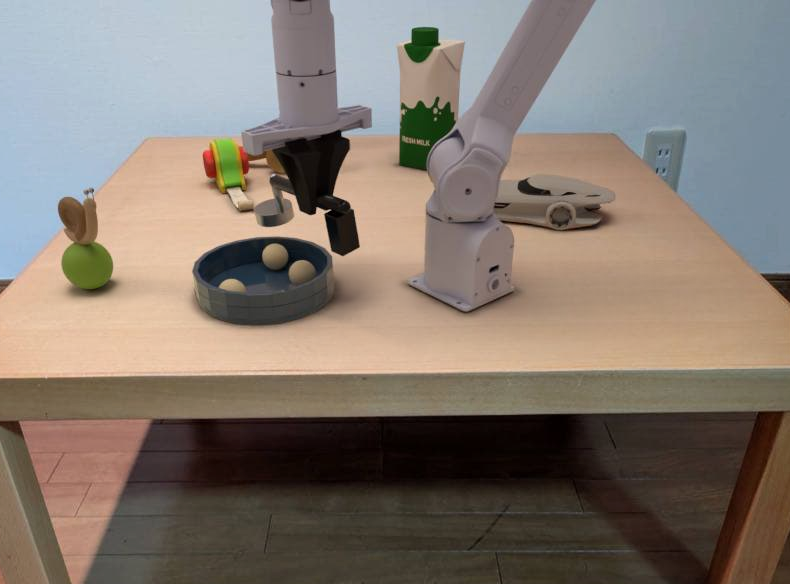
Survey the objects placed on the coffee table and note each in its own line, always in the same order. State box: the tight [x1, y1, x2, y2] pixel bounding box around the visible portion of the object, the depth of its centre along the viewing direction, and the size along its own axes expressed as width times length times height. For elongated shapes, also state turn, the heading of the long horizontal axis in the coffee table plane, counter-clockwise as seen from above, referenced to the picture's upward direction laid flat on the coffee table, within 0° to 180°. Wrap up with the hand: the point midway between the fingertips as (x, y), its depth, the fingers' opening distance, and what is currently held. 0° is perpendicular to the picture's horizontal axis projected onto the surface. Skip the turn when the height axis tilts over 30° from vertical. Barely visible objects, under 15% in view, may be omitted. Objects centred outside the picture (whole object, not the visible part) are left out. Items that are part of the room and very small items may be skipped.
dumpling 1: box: [219, 279, 246, 293], centre depth 77 cm, size 3×3×3 cm
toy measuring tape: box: [202, 137, 255, 212], centre depth 108 cm, size 6×20×7 cm, turn 20°
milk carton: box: [396, 26, 466, 171], centre depth 114 cm, size 9×9×20 cm
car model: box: [494, 173, 617, 231], centre depth 100 cm, size 11×24×5 cm, turn 78°
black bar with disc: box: [253, 173, 361, 257], centre depth 79 cm, size 17×4×6 cm, turn 41°
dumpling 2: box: [262, 244, 288, 270], centre depth 85 cm, size 3×3×3 cm
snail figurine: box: [57, 187, 114, 290], centre depth 80 cm, size 5×6×12 cm
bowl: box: [191, 235, 335, 326], centre depth 81 cm, size 15×15×4 cm
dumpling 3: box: [289, 260, 316, 286], centre depth 81 cm, size 3×3×3 cm
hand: (315, 210), depth 77 cm, fingers closed on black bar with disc
